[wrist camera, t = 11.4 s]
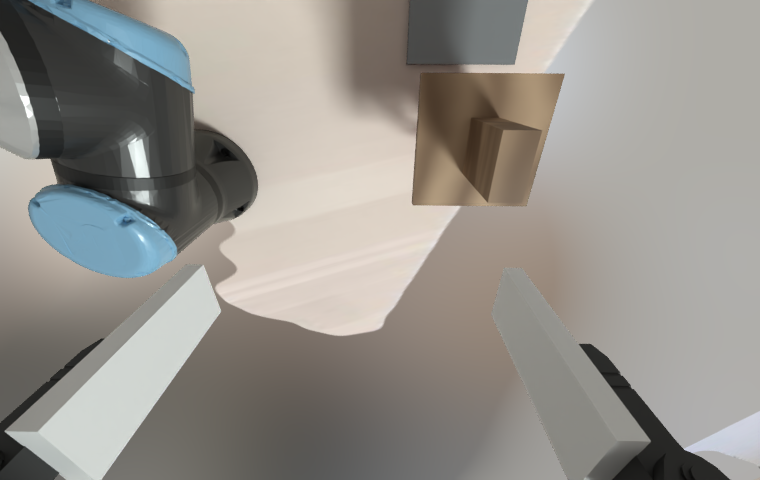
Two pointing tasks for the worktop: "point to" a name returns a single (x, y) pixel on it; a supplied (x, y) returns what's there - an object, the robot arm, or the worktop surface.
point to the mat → (464, 31)
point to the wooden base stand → (481, 136)
